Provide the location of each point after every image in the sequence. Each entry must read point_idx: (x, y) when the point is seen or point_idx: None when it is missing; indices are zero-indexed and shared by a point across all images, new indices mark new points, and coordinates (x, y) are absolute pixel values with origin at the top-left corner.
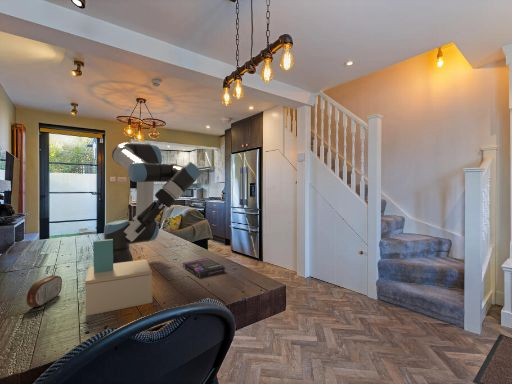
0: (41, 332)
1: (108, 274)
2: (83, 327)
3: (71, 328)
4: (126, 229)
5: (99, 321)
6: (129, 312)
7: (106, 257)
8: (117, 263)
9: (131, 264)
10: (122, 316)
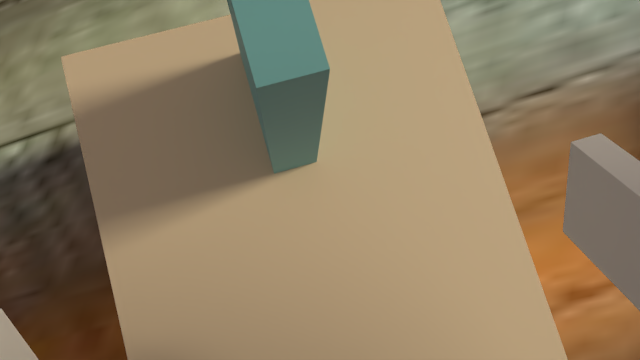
0: (21, 5)
1: (172, 167)
2: (9, 157)
3: (17, 109)
4: (602, 175)
5: (48, 208)
6: (107, 331)
7: (253, 93)
8: (476, 150)
9: (418, 277)
10: (69, 306)
